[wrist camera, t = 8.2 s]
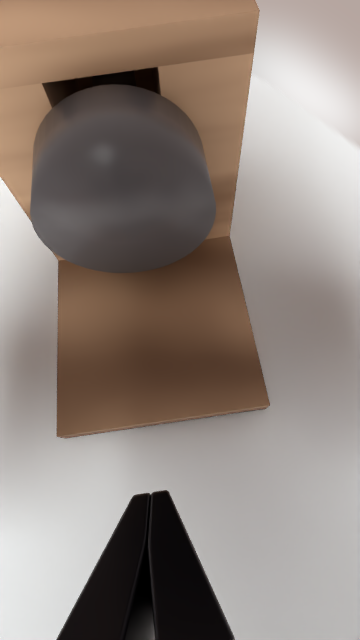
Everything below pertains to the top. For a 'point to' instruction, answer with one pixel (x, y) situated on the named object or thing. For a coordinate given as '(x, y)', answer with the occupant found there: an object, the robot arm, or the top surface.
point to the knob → (120, 179)
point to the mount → (168, 281)
